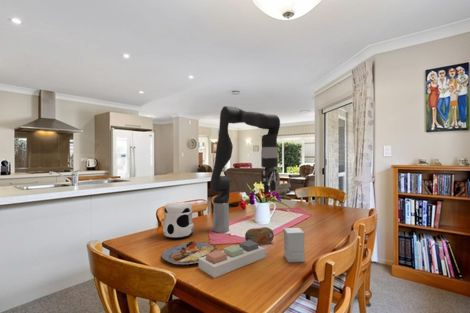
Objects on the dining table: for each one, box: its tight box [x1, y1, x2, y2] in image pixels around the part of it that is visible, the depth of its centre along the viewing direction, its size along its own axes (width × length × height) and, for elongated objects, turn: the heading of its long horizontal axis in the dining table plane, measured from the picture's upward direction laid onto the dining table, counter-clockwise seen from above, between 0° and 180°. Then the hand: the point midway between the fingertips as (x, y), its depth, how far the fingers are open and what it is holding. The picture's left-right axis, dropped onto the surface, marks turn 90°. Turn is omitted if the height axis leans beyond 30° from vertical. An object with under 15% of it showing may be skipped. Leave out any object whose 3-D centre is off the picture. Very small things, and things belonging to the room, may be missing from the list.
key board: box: [198, 244, 267, 279], centre depth 107 cm, size 11×28×4 cm, turn 130°
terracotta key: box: [206, 249, 227, 264], centre depth 101 cm, size 6×6×3 cm
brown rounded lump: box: [244, 226, 275, 246], centre depth 128 cm, size 15×3×8 cm, turn 105°
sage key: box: [223, 244, 243, 258], centre depth 107 cm, size 6×6×3 cm
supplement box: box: [283, 227, 306, 263], centre depth 109 cm, size 7×7×13 cm
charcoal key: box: [238, 240, 259, 252], centre depth 112 cm, size 6×6×3 cm
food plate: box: [161, 241, 218, 266], centre depth 115 cm, size 25×23×4 cm
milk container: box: [162, 201, 195, 239], centre depth 144 cm, size 17×17×18 cm
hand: (269, 191), depth 116 cm, fingers open, 8 cm apart
